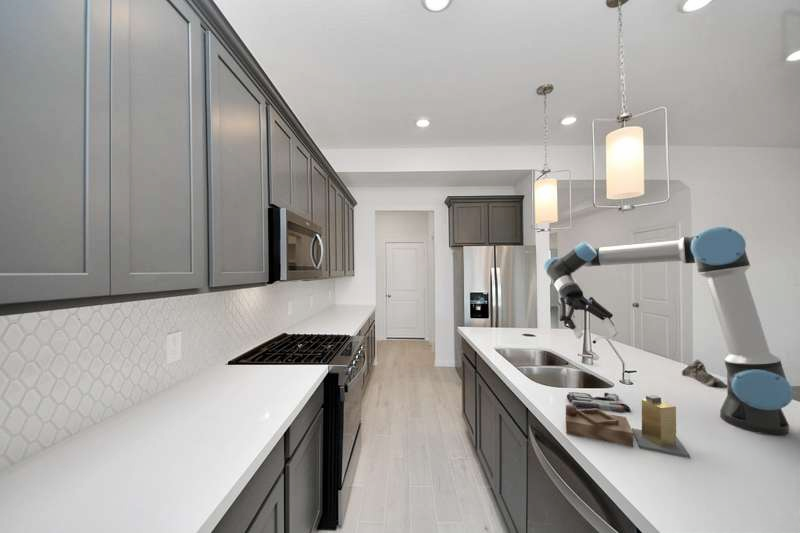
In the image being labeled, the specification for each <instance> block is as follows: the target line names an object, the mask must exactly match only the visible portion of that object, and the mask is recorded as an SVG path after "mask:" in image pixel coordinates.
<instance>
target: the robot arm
mask: <svg viewBox="0 0 800 533" xmlns="http://www.w3.org/2000/svg"><path fill="white" fill-rule="evenodd" d="M746 246H747V244H746V240H745V238H744V237H743V235H742V234H741V233H740V232H738V231H737V230H735V229H732V228H729V227H725V226H716V227H715V226H714V227H709V228H706V229H703V230H701V231H700V232H698V233H696V234H695V235H691V236H690V235H689V236H683V237H681V238H680V239H678V240H669V241H659V242H658V241H657V242H648V243H637V244H636V243H635V244H626V245H615V246H613V245H612V246H604V247H592V245H591V244H589V243H588V242H586V241H582V242H581V243H578V244H577V245H575V246H574V247H573V248H572V249H570V250H569V251H568V252H566V253H565V254H564V255H563V256H561V257H557V256H554V257H551V258H549V259H547V260H546V261H545V262H544V264H543V265H544V266H543V268H544V270H545V273H546V274H547V276H548V277H549V279H550V281H551V282H552V284H553V285H554V287H555V289H556V290H557V292H558V294H559V295H560V298H559V300H558V301H557V304H558V306H559V307H558V308H559V309H558V310H559V311H558V312H559V317H558V318H559V322H563V323H564V324H565V325H568V327H569V329H570V330H572V331H573V333H574V335H575V337H576V339H581V337H582V336H583V335H584V333H583V332H582V329H581V328H580V326H579V325H578V323H577V321H576V319H575V318H572V317H573V315H574V312H575V311H585V312H588V313H590V314H592V315H593V316H595V317H596V318H598V319H600V320H601V323H602V324H603V325H604V327H605V329H606V330H607V332H608V333H609V335H610V336H611V337H612V338H615V337H616V336H617V335H618V334H619V331H618V330H617V328H616V327H615V324H614V323H613V321H612V320H611V319H612V317H613V316H614V314H612V313H611V312H610V311H609V310H608V309H606V308H605V307H604V306H602V305H601V304H600V303H599V302H597V301H596V300H595V298H594V297H592V296H590V297H589V298H586V297H585V296H584V291H583V290H582V288H581V287H580V285H578V283H577V281H576V279H575V278H574V277H573V275H572V274H573V273H575V272H576V271H578V270H579V269H581V268H582V267H585V268H586V267H587V268H589V267H598V266H599V267H600V266H614V265H633V264H648V263H649V264H650V263H669V262H671V263H672V262H682V263H683V264H695V266H696V269H697V272H698V274H699V275H701V276H703V277H705V278H706V280H707V284H708V288H709V291H710V294H711V298H712V300H713V304H714V309H715V311H716V314H717V315H716V316H717V318H718V321H719V324H720V328H721V331H722V332H721V333H722V334H723V338H724V342H725V344H726V348H727V351H728V352H727V355H726V356H725V357H724V358H723V362H724V364H725V368H726V372H727V374H726V375H727V376H726V377H727V378H726V379H727V380H726V382H727V384H726V385H727V387H726V388H727V389H726V390H727V394H726V398H725V399H724V402H723V404H722V406H721V408H720V409H719V410H720V411H719V413H720V414H719V415H720V418H721V419H722V420H723V421H724V422H726V423H727V424H729V425H733V426H734V427H737V428H740V429H743V430H746V431H750V432H753V433H759V434H761V435H762V434H763V435H770V436H788V435H789V434H790V424H789V422H788V420H787V418H786V416H785V414H784V411H783V410H782V409H783V408H785V407H787V406H788V405H789V404H790V403H791V402H792V400H793V398H794V397H793V396H794V389H793V387H792V385H791V384H790V382H789V381H788V380H787V376H786V374H785V370H784V368H783V365H782V362H781V358H779V357H778V356H776V355H774V354H772V353H771V352H770V348H769V345H768V341H767V339H766V335H765V332H764V329H763V327H762V323H761V320H760V317H759V313H758V310H757V307H756V304H755V301H754V298H753V295H752V292H751V288H750V284H749V282H748V279H747V275H746V272H747V270H749V268H750V267H751V264H750V260H749V257H748V255H747V252H746ZM566 305H567V306H568V311H567V306H566Z"/></svg>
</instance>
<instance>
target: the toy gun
mask: <svg viewBox="0 0 800 533" xmlns="http://www.w3.org/2000/svg"><path fill="white" fill-rule="evenodd" d="M604 396H605V397H604ZM566 399H567V400H568V401H569V403H571V405H574V406H576V409H594V408H597V409H599V410H601V411H609V412H610V411H611V412H612V411H613V412H620V413H630V412H631V407H630V406H629V405H627V404H626V403H622V402H621V401H620V397H619V395H617V394H616V393H614V394H613V393H609V392H604V395H603V397H602V396H594V397H593V396H592V395H591V394H589V393H586V392H578V391H577V392H575V391H572V392H571V391H568V393H567V394H566Z"/></svg>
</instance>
